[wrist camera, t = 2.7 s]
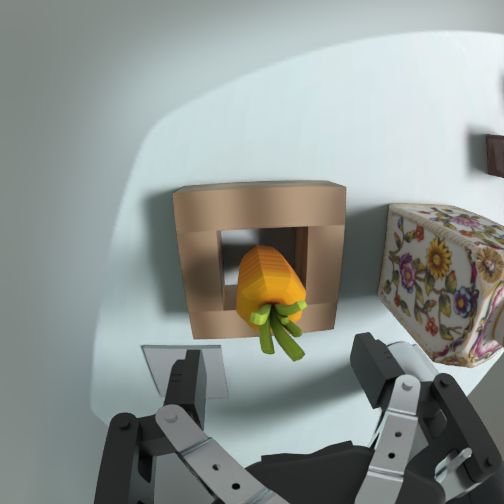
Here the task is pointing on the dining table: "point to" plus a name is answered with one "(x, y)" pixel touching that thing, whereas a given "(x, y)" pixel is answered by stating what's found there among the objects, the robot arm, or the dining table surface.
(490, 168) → the box
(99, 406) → the dining table surface
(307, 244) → the socket block
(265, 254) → the carrot
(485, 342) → the decorative jar
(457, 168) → the dining table surface
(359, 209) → the dining table surface
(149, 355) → the rubber mat
